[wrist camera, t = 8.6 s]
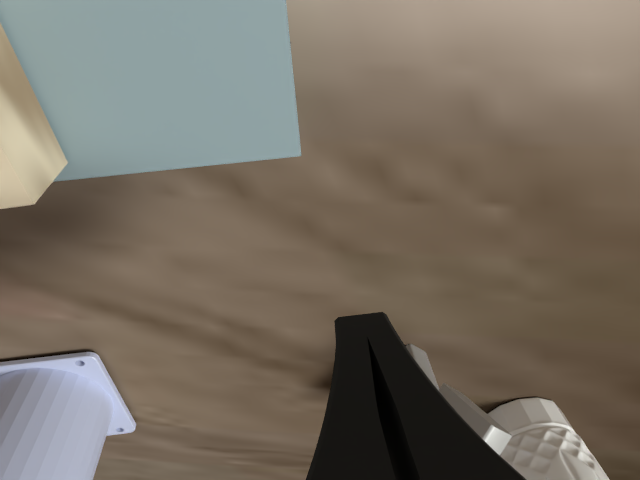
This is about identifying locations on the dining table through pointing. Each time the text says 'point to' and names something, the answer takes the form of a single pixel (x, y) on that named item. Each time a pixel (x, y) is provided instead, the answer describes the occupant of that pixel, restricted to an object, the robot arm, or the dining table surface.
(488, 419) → the lighter
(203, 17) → the blue-grey block
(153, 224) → the dining table surface
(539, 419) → the white cup
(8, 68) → the folding leg
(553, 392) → the dining table surface
